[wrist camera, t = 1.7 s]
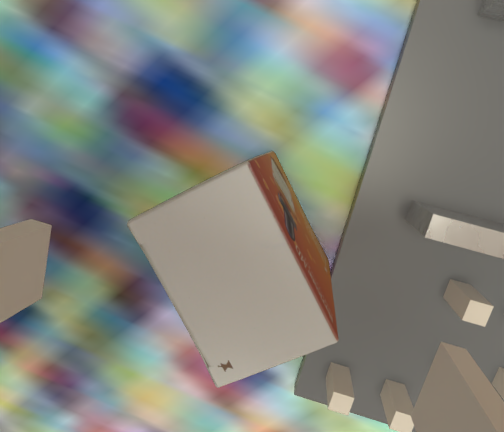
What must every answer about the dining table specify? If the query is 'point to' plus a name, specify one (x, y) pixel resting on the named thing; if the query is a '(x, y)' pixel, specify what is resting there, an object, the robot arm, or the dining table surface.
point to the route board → (408, 238)
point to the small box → (242, 269)
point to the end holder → (453, 223)
